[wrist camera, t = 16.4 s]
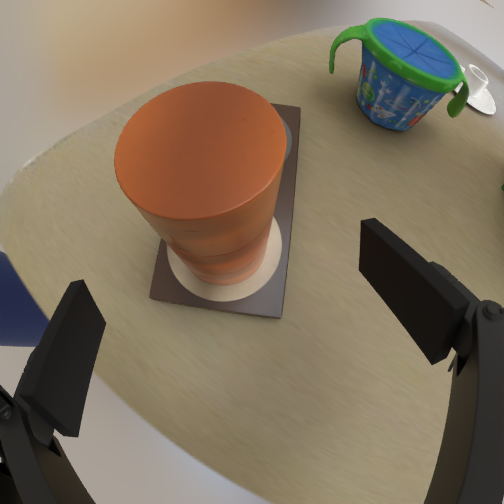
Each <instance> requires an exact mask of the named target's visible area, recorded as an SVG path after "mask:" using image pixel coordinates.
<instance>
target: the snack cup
mask: <svg viewBox="0 0 504 504" xmlns="http://www.w3.org/2000/svg"><path fill="white" fill-rule="evenodd" d="M351 39H359V40H361V41H362V65H361V69H360V76H359V82H358V87H357V101H358V102H359V105H360V107H361V109H362V110H363V112H364V113H365V114H366V115H367V116H368V117H369V118H370V120H371V121H373V122H374V123H375V124H379V125H381V126H383V127H385V128H388V129H393V130H398V131H405V130H407V129H409V128H411V127H412V126H413V125H415V124H416V123H417V122H418V121H419V120H420V119H421V118H422V117H423V116H424V115H425V114H426V113H427V112H428V111H429V110H430V109H432V108H433V107H434V105H435V104H437V103H438V102H439V101H440V100H441V99H442V97H443V96H444V95H445V94H446V93H449V92H452V91H453V90H455V89H456V88H457V87H458V85H459V84H460V82H463V85H462V87H461V88H460V90H459V91H458V93H457V94H456V96H455V97H454V98H453V99H452V100H451V101H450V102H449V104H448V106H447V111H448V114H449V116H450V117H452V118H454V117H456V116H458V115H459V114H460V113H461V111H462V110H463V108H464V106H465V104H466V102H467V100H468V97H469V86H468V83H467V80H466V78H465V76H464V74H463V72H462V70H461V67H460V65H459V64H458V62H457V60H456V59H455V58H454V56H453V55H452V54H451V53H450V52H449V51H448V50H447V49H446V48H445V47H444V46H443V45H442V44H441V43H439V42H438V41H437V40H436V39H434V38H433V37H431V36H430V35H428V34H427V33H425V32H423V31H422V30H420V29H418V28H416V27H414V26H411V25H409V24H407V23H404V22H401V21H397V20H393V19H388V18H375V19H371V20H369V21H368V22H367V23H366V24H364V25H360V26H354V27H350V28H348V29H347V30H345V31H343V32H342V33H341V34H339V36H338V37H337V38H336V39H335V41H334V42H333V44H332V47H331V50H330V61H329V70H330V73H331V74H333V71H334V59H335V52H336V49H337V48H338V46H339V45H340V44H342V43H344V42H347V41H349V40H351Z"/></svg>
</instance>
